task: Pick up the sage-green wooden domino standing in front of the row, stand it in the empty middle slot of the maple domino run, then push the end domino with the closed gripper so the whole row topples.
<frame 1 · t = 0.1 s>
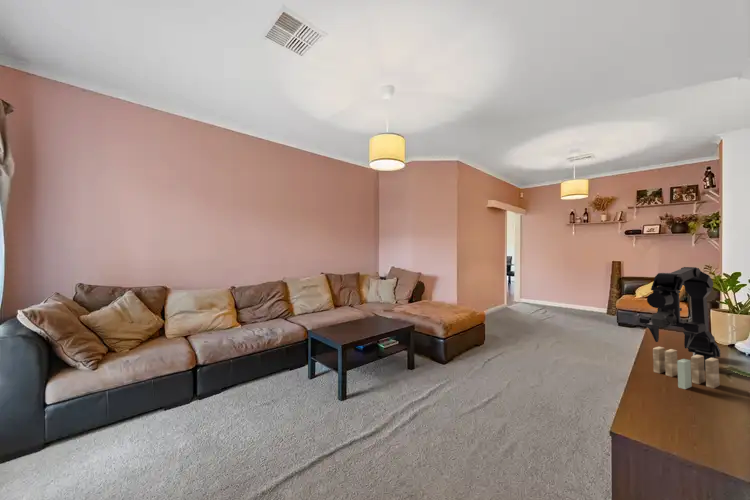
hand: (671, 345, 121), 15 cm above the table, tool pointing down, fingers open, 9 cm apart
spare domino: (684, 386, 117), on the table
photo printer: (701, 358, 145), on the table
domino 5: (659, 371, 131), on the table
domino 1: (712, 385, 117), on the table
domino 2: (698, 382, 121), on the table
domino 4: (671, 374, 128), on the table
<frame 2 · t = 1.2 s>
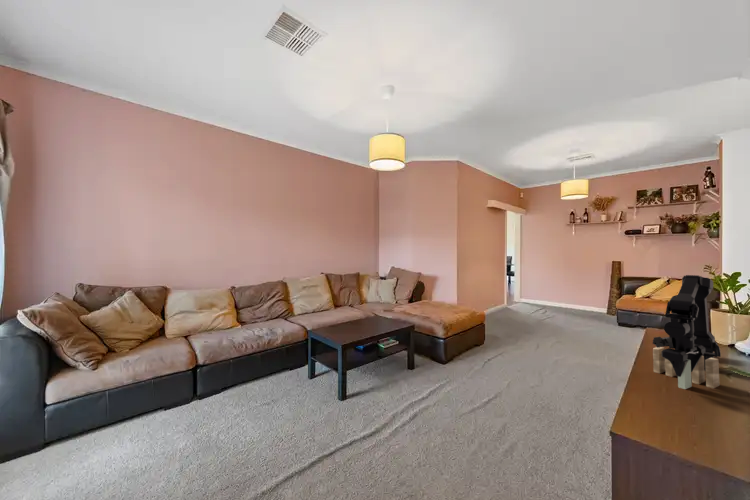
hand: (684, 373, 117), 5 cm above the table, tool pointing down, fingers open, 8 cm apart
domino 2: (698, 382, 121), on the table, touching gripper
everything else where it was.
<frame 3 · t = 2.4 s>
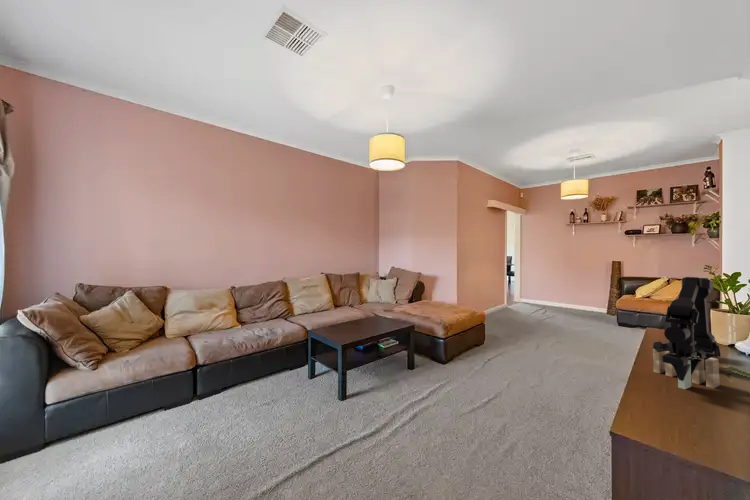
hand: (684, 378, 117), 3 cm above the table, tool pointing down, fingers closed on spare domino, 5 cm apart
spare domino: (684, 386, 117), on the table, touching gripper
domino 2: (698, 382, 121), on the table
everything else where it was.
when the fingers open (4 cm above the table, at t = 7.1 s): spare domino moves 2 cm and tips over, resting on domino 2, domino 4.
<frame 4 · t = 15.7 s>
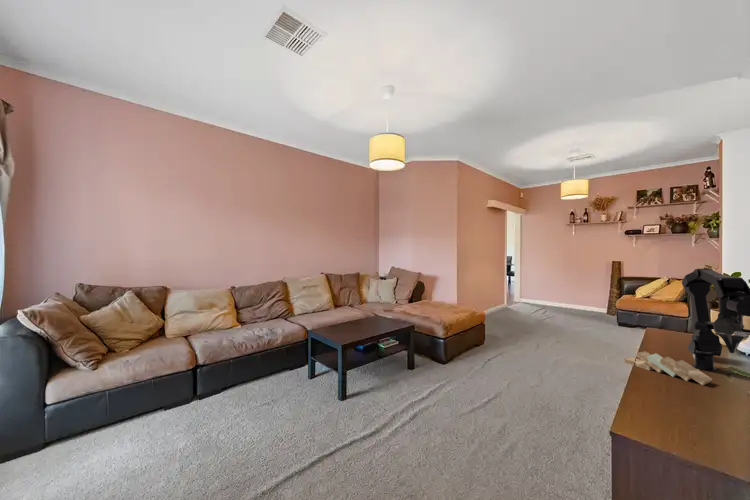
hand: (732, 352, 115), 13 cm above the table, tool pointing down, fingers closed
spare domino: (677, 374, 126), point 1 cm above the table, tilted 62°, touching domino 2, domino 4
domino 5: (653, 367, 134), point 1 cm above the table, tilted 90°, touching domino 4
domino 1: (707, 382, 118), point 1 cm above the table, tilted 62°, touching domino 2
domino 2: (691, 378, 122), point 1 cm above the table, tilted 62°, touching domino 1, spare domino
domino 4: (664, 370, 130), point 1 cm above the table, tilted 65°, touching domino 5, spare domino
everything else where it was.
at the end: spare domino 2.1 cm from the target spot, point 0.9 cm above the table; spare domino tilted 62°; domino 5 tilted 90° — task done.
